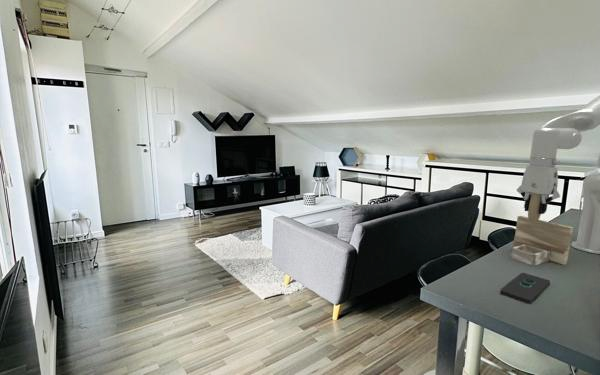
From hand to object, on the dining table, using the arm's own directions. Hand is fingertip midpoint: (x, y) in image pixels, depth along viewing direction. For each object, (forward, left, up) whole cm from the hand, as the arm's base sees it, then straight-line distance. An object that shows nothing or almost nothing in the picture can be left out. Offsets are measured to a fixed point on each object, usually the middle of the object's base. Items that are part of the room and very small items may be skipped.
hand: (534, 211), depth 123 cm
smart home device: (+26, +12, -19) cm, 35 cm away
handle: (0, 0, -4) cm, 4 cm away
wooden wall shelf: (-2, 0, -19) cm, 19 cm away
